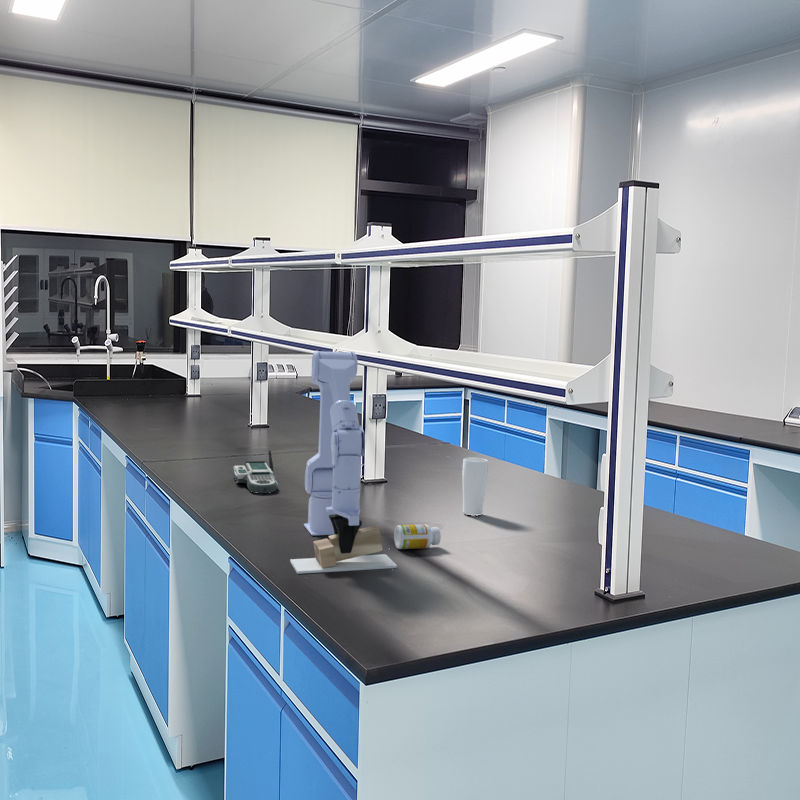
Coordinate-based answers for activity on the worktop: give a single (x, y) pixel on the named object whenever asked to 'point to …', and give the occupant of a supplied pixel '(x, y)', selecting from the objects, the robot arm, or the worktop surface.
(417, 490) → the worktop surface
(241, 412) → the worktop surface
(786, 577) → the worktop surface
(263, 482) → the communication device
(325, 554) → the tan boxy piece
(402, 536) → the supplement bottle
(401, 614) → the worktop surface
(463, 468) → the drinking glass
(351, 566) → the grey mat
